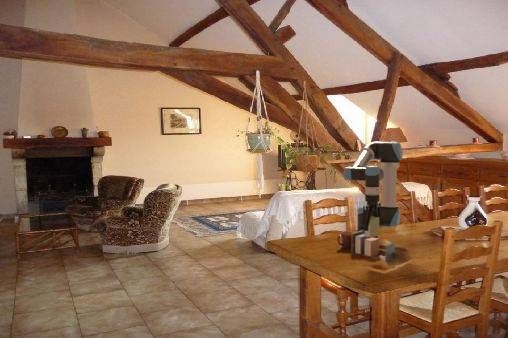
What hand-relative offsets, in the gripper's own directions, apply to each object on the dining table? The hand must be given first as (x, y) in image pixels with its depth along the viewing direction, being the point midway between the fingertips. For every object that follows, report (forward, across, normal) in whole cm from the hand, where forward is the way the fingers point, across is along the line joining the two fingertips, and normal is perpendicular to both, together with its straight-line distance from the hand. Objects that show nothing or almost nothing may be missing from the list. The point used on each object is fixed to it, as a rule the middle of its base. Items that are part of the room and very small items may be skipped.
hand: (371, 234), depth 253 cm
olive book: (0, 0, 0) cm, 0 cm away
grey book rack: (+15, +6, +2) cm, 16 cm away
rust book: (+13, +6, +4) cm, 15 cm away
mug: (+15, +8, +23) cm, 29 cm away
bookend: (+13, +6, -9) cm, 17 cm away
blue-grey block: (+13, +6, +10) cm, 18 cm away
